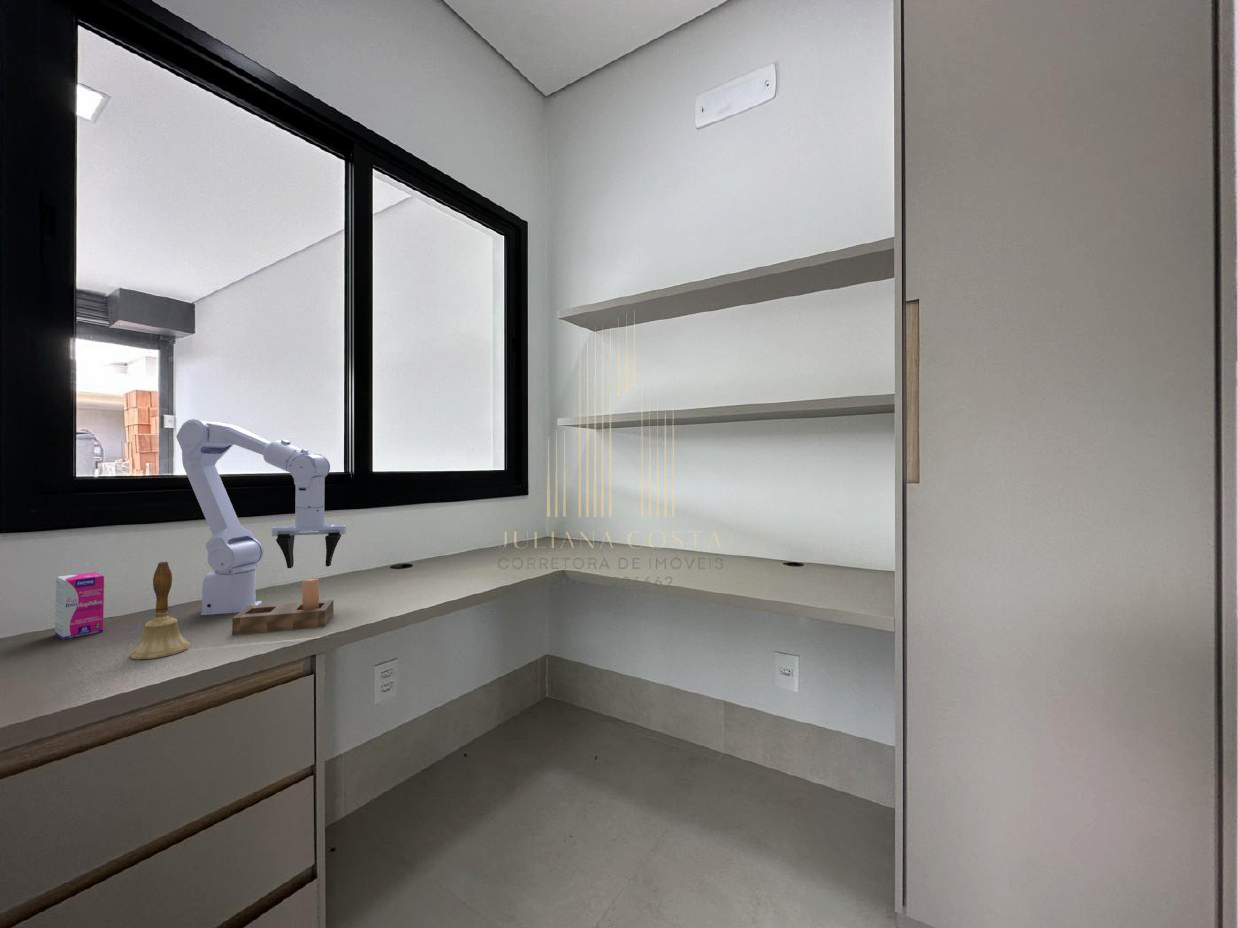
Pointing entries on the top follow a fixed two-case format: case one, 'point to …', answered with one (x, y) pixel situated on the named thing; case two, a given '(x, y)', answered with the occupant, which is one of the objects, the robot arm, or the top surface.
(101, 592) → the supplement box
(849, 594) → the top surface
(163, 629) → the hand bell
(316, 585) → the peg
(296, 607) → the hole block
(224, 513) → the robot arm
